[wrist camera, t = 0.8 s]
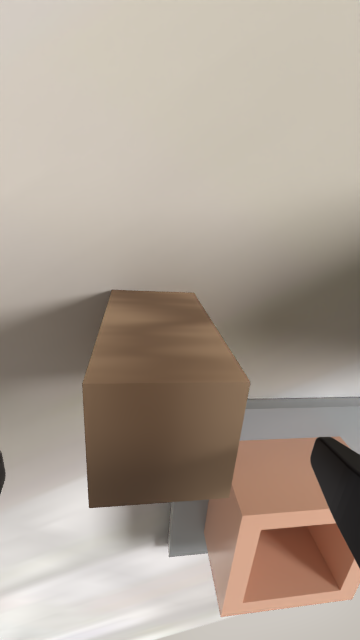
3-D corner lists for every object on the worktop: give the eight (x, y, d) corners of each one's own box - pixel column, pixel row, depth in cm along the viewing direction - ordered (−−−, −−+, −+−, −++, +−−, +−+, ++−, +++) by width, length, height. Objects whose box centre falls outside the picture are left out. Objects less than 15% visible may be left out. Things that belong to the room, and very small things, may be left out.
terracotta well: (372, 396, 21) (456, 465, 15) (324, 528, 26) (374, 616, 20) (180, 401, 19) (197, 481, 13) (167, 543, 24) (176, 645, 18)
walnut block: (193, 292, 16) (250, 382, 8) (187, 363, 18) (229, 498, 10) (111, 289, 16) (82, 383, 7) (112, 363, 17) (89, 508, 9)
